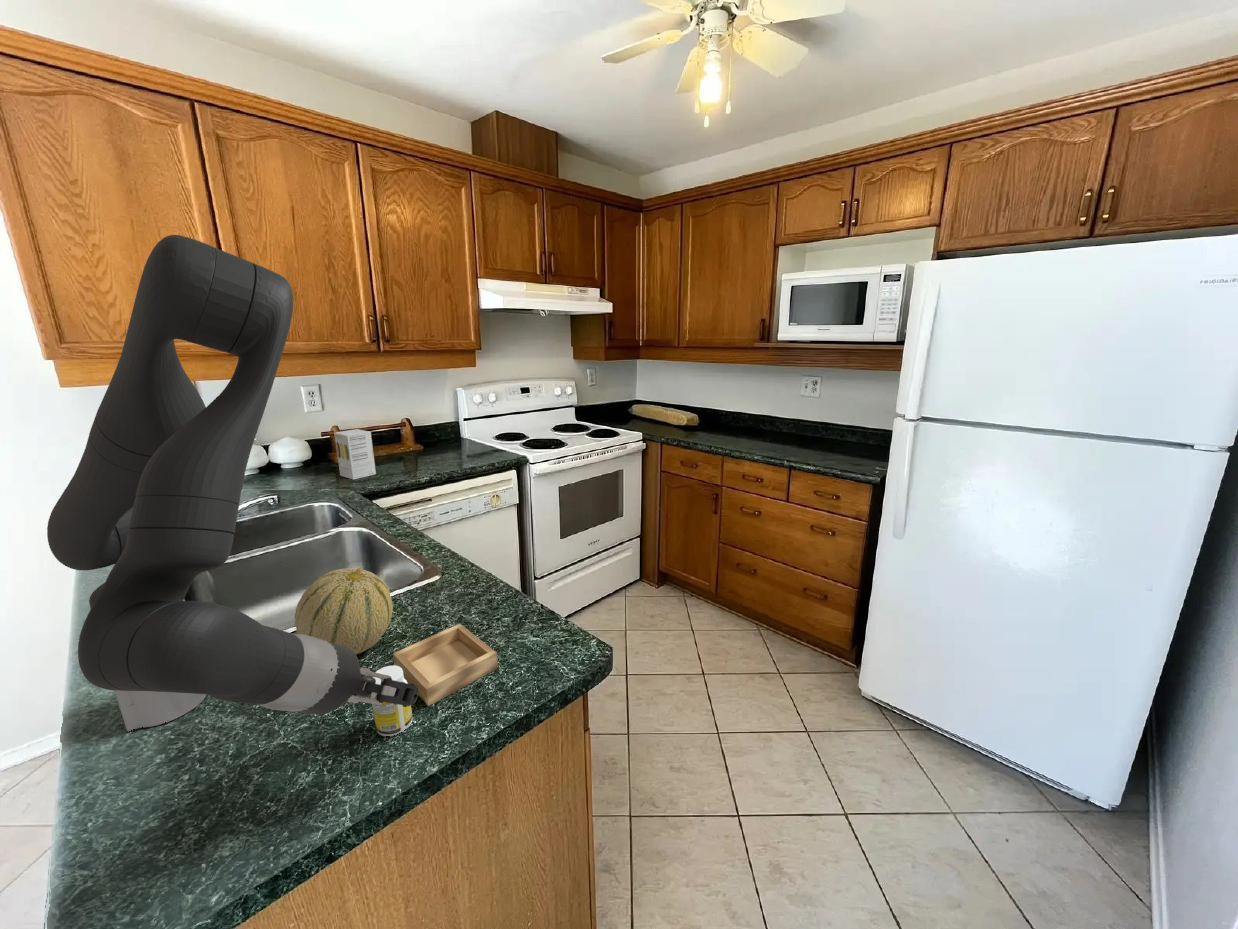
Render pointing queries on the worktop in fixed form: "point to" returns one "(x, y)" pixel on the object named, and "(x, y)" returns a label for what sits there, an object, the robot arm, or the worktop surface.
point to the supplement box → (355, 453)
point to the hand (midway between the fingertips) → (387, 690)
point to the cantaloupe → (345, 609)
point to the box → (445, 662)
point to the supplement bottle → (391, 707)
